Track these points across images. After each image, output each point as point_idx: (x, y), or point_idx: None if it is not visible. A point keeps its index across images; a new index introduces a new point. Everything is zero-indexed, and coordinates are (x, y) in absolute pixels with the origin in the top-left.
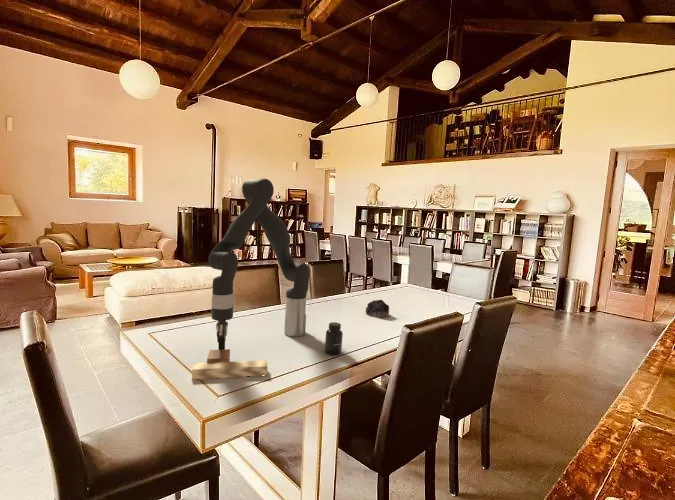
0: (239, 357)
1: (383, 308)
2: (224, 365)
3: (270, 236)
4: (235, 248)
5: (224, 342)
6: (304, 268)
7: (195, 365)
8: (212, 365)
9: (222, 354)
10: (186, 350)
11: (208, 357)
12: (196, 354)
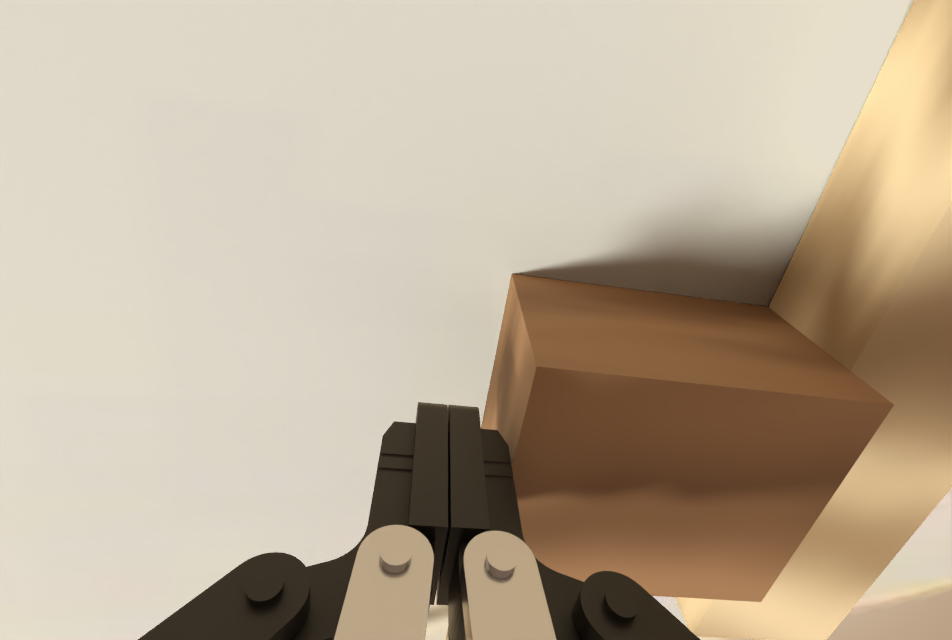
0: (378, 131)
1: None
2: (931, 418)
3: None
4: None
5: (491, 531)
6: None
7: (750, 628)
8: (843, 520)
9: (710, 468)
10: (142, 605)
11: (728, 592)
12: (242, 544)
